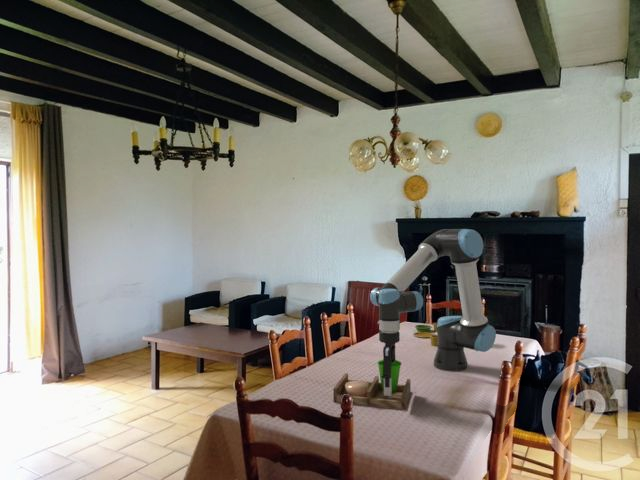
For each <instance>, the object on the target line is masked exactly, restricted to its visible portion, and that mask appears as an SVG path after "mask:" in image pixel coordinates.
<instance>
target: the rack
mask: <svg viewBox="0 0 640 480" xmlns="http://www.w3.org/2000/svg"><path fill="white" fill-rule="evenodd" d="M379 377H380V375H376V376H374V379H373V380H372V381H366V380H365V381H364V380H362V381H363V382H366V383H368V384H369V389H368V391H367V397H358V396H351V397H352V399H353V404H352V405H355V406H357V405H358V406H366V407H376V408H386V409H397V410H402V411H404V410H406V408H407V405H408V402H409V400H410V399H409V398H410V394H411V378H407V379H406V381H405V384H399V383H398V385H397V391H396V393H395V394H392V395H391V396H385V395H384V393H383V391H382V385H381V382H379V380H380V379H379ZM350 381H357V380H356V379H355V380H353V379H349V373H344V374H343V375H342V377H341V378H340V380H338V382H337V383H336V385H334V387H333V389H332V390H333V403H336V404H337V403H338V404H342V403H341V399H342V397H343V395H344V394H345V384H346V383H347V382H350Z"/></svg>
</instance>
